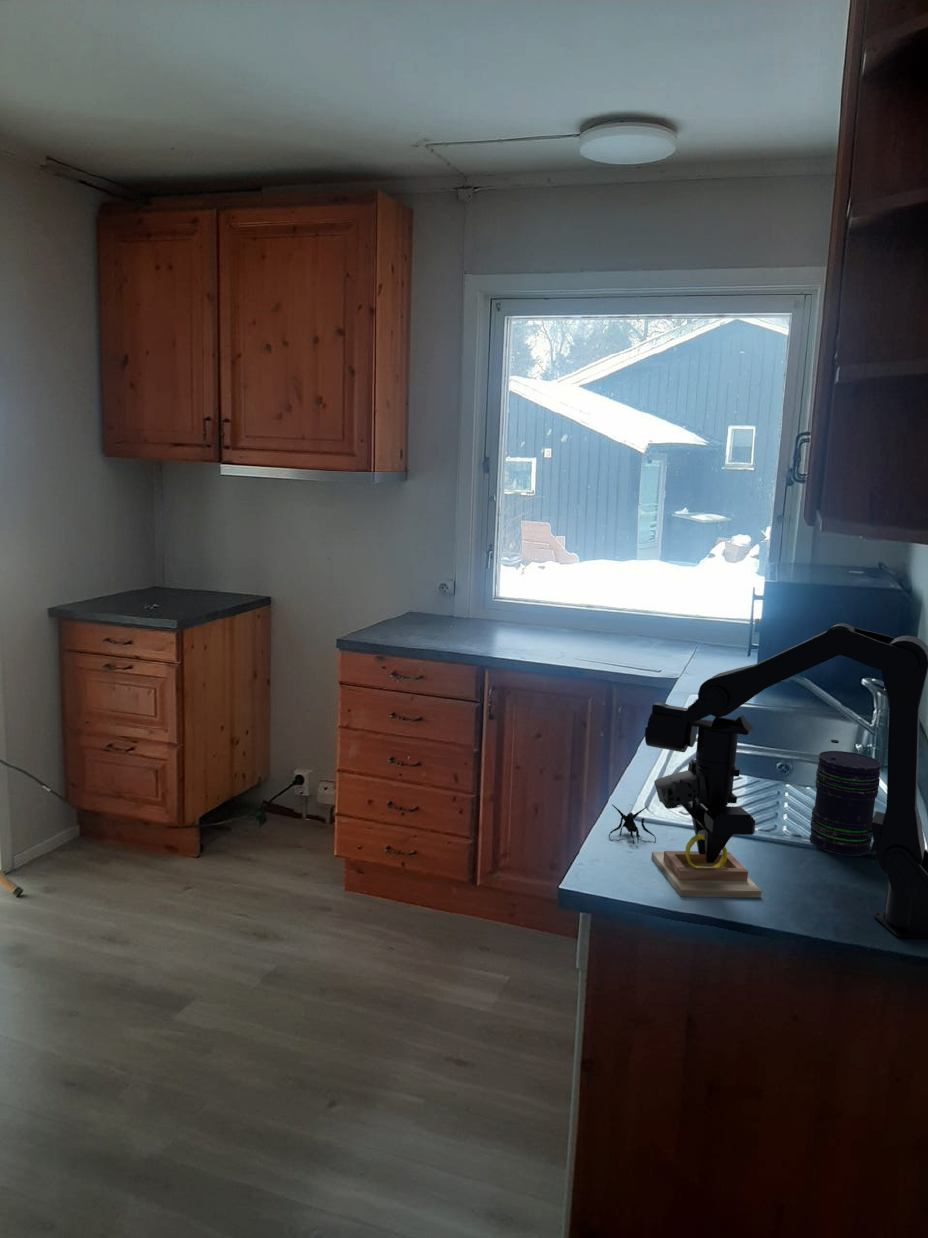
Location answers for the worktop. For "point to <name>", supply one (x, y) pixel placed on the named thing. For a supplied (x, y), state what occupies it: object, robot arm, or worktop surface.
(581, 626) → the worktop surface
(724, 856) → the watch
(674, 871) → the wooden framed tray
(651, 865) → the worktop surface
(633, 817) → the creature
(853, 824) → the dark purple barrel
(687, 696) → the worktop surface
